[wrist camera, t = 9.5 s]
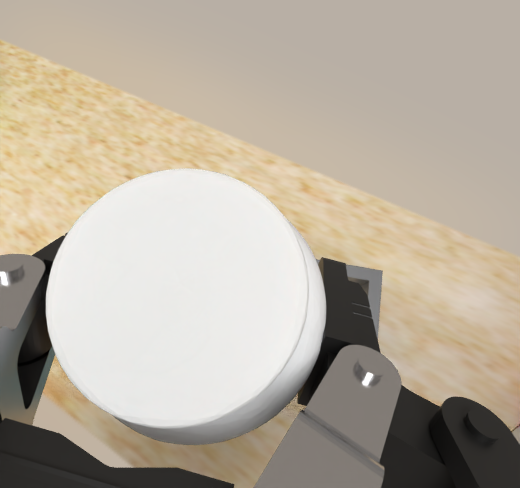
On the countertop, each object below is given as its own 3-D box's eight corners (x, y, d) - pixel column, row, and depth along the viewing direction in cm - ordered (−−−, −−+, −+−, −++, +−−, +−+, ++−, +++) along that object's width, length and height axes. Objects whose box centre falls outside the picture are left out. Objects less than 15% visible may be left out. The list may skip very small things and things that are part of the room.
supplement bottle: (214, 239, 16) (162, 69, 6) (310, 309, 15) (431, 245, 5) (133, 337, 14) (-105, 323, 5) (236, 421, 14) (209, 616, 4)
